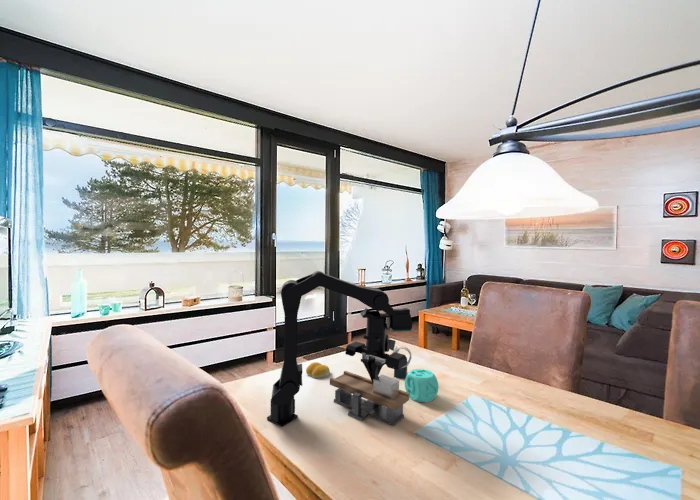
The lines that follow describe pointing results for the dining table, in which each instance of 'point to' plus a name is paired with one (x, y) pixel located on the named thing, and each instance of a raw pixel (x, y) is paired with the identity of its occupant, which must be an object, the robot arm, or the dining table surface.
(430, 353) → the dining table surface
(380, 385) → the rider
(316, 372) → the bread roll
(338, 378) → the beam
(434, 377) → the decorative dice
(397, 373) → the watch
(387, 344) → the robot arm
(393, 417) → the stand
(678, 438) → the dining table surface
